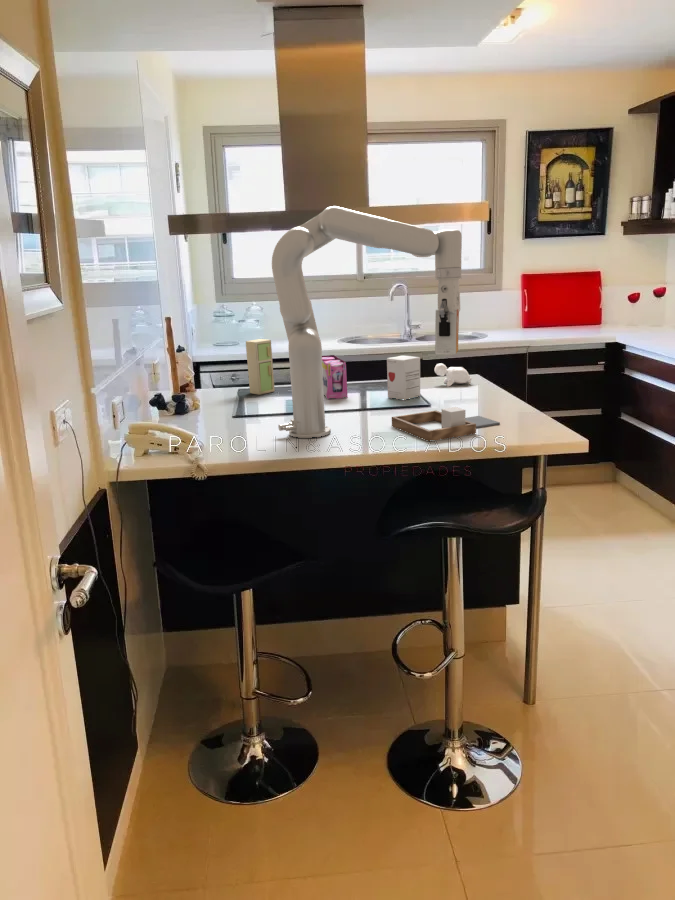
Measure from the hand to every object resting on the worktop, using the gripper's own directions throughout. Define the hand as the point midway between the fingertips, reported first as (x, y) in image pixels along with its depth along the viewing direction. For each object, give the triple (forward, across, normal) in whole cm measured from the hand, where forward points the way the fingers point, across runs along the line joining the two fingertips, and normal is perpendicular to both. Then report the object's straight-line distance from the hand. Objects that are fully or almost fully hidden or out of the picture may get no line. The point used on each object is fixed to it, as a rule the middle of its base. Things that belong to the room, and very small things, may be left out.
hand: (448, 334), depth 208 cm
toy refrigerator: (+29, +41, +85) cm, 98 cm away
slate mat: (+28, +4, -7) cm, 29 cm away
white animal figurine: (+28, +68, +13) cm, 75 cm away
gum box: (+28, +44, +56) cm, 76 cm away
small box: (+6, 0, 0) cm, 6 cm away
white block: (+28, -8, -3) cm, 29 cm away
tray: (+28, -6, +3) cm, 29 cm away
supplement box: (+28, +40, +25) cm, 55 cm away
